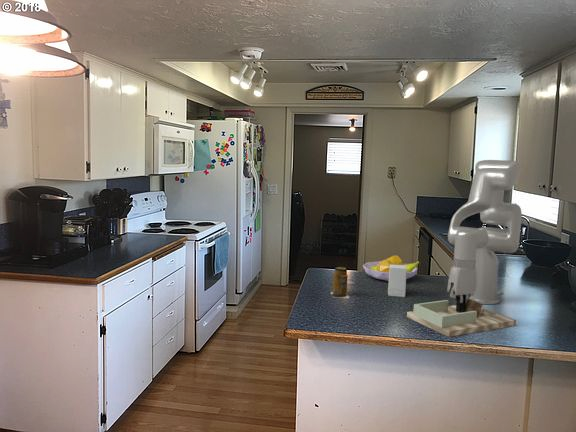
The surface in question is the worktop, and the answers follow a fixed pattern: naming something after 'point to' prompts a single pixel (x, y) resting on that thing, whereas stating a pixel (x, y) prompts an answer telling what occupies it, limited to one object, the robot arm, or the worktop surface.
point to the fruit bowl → (382, 268)
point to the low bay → (430, 315)
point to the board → (481, 323)
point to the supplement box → (397, 280)
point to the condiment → (340, 283)
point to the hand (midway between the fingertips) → (460, 312)
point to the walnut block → (473, 306)
